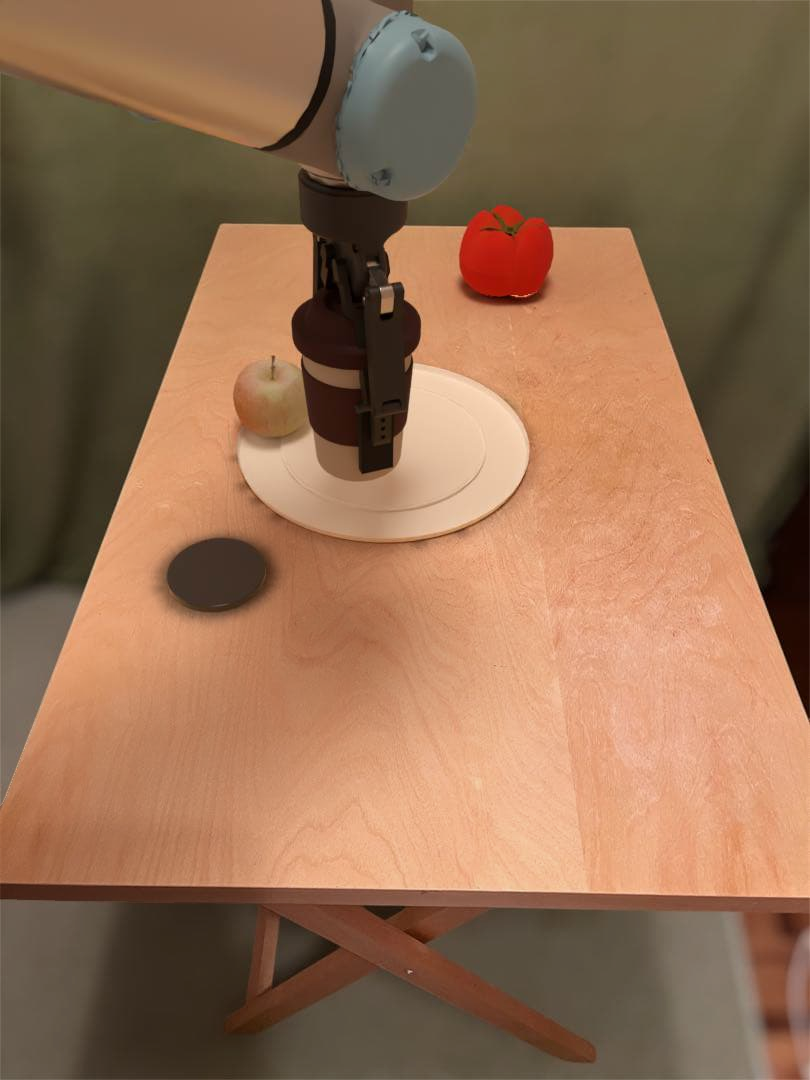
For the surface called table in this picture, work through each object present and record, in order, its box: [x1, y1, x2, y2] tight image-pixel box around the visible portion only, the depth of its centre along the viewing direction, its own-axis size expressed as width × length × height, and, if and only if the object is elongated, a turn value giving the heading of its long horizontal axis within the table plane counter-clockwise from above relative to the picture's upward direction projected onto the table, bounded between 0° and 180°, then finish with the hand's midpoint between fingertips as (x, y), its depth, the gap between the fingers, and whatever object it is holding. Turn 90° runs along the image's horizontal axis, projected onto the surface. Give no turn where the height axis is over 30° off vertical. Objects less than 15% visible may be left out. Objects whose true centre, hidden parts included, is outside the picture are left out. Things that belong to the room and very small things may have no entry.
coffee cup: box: [290, 286, 422, 482], centre depth 74 cm, size 10×10×15 cm
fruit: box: [232, 354, 308, 437], centre depth 87 cm, size 8×7×8 cm
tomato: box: [458, 204, 555, 299], centre depth 109 cm, size 11×12×9 cm
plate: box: [236, 362, 530, 543], centre depth 88 cm, size 28×28×1 cm
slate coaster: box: [166, 537, 267, 613], centre depth 75 cm, size 8×8×1 cm
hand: (357, 436), depth 77 cm, fingers closed on coffee cup, 8 cm apart
